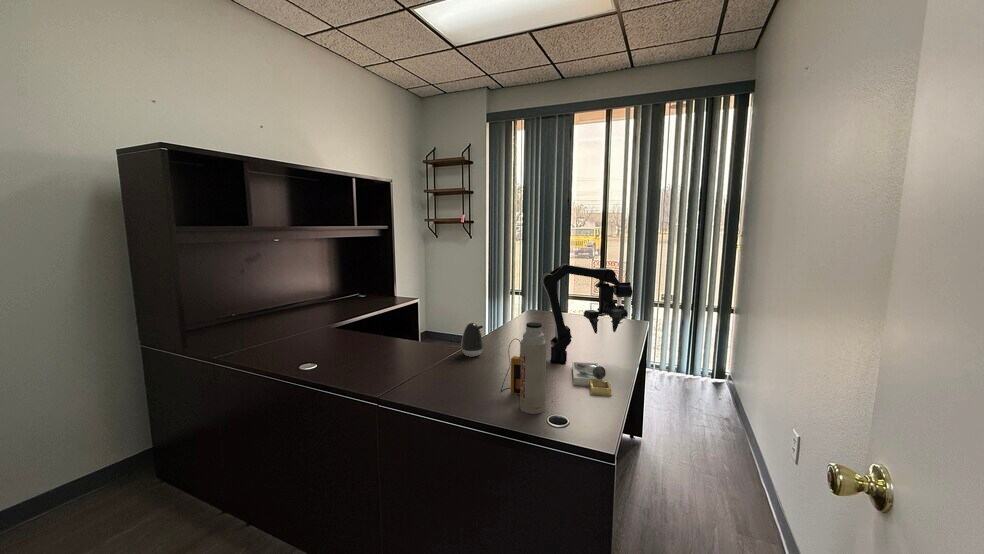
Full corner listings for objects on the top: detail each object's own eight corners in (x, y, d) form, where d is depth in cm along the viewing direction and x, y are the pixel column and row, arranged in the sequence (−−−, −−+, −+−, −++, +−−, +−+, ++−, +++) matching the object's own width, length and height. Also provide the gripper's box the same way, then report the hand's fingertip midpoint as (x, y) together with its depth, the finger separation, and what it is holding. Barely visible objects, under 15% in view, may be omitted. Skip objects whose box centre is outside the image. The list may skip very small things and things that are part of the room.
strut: (574, 371, 156) (593, 376, 143) (578, 360, 157) (596, 364, 144) (584, 375, 157) (603, 380, 144) (587, 364, 158) (607, 368, 145)
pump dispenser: (478, 359, 174) (478, 326, 172) (457, 357, 178) (457, 324, 176) (486, 353, 183) (487, 321, 182) (466, 350, 187) (466, 319, 185)
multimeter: (546, 387, 143) (547, 334, 141) (541, 398, 134) (542, 341, 131) (508, 382, 148) (508, 331, 146) (500, 392, 138) (500, 337, 136)
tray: (573, 385, 146) (574, 377, 145) (572, 368, 163) (572, 361, 163) (602, 387, 144) (602, 379, 143) (597, 370, 162) (597, 363, 161)
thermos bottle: (522, 414, 122) (523, 326, 119) (518, 403, 130) (519, 320, 127) (547, 413, 123) (549, 326, 120) (541, 402, 131) (543, 320, 127)
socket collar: (591, 394, 137) (591, 387, 137) (589, 386, 144) (589, 380, 144) (611, 395, 136) (611, 389, 136) (608, 388, 143) (609, 381, 143)
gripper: (597, 301, 159) (596, 339, 161) (636, 299, 164) (634, 335, 166) (583, 297, 169) (582, 332, 171) (620, 295, 175) (619, 329, 177)
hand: (605, 332), depth 171 cm, fingers open, 9 cm apart
